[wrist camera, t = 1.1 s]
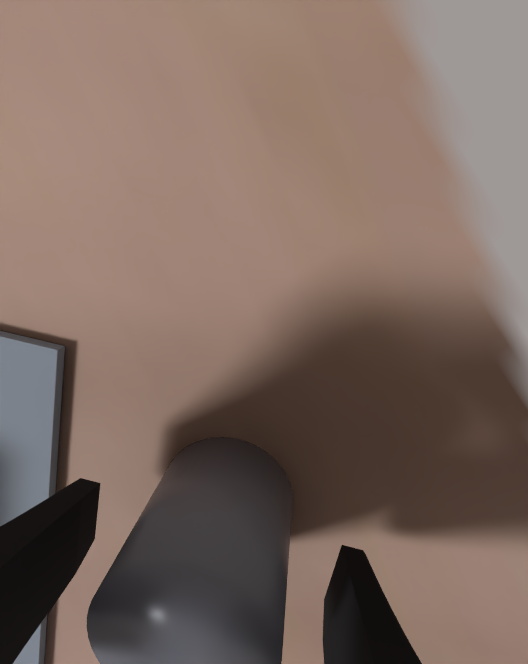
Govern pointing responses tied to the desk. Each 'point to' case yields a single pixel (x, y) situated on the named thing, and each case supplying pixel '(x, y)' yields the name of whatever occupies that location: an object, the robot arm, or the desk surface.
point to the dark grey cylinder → (201, 565)
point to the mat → (29, 437)
